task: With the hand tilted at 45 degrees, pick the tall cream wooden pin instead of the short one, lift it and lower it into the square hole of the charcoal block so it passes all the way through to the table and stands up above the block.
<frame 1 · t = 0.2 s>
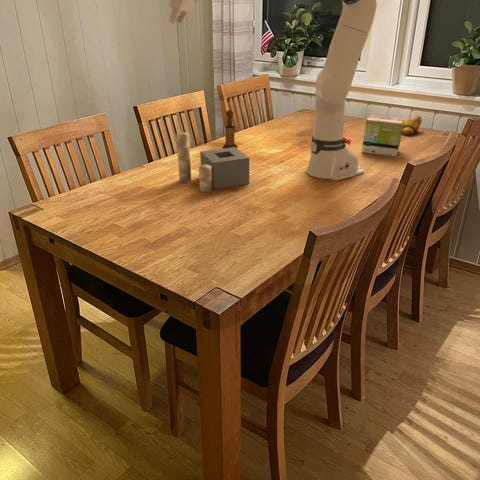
hand: (175, 22, 164), 54 cm above the table, tool tilted 25°, fingers open, 8 cm apart
short pin: (206, 190, 168), on the table
hole block: (224, 180, 177), on the table
tall pin: (185, 180, 177), on the table
brown pedestal statuette: (230, 151, 209), on the table
tea box: (380, 152, 208), on the table
golden brown lumpy piece: (407, 133, 235), on the table
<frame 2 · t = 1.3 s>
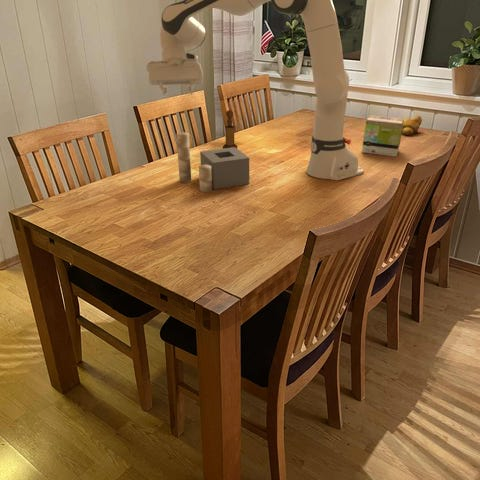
hand: (177, 93, 173), 30 cm above the table, tool tilted 45°, fingers open, 8 cm apart
nothing on the table moved.
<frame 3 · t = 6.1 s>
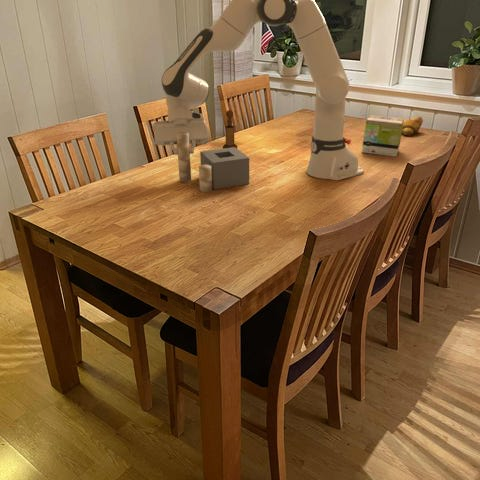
hand: (183, 153, 171), 11 cm above the table, tool tilted 45°, fingers closed on tall pin, 4 cm apart
tall pin: (185, 180, 177), on the table, touching gripper
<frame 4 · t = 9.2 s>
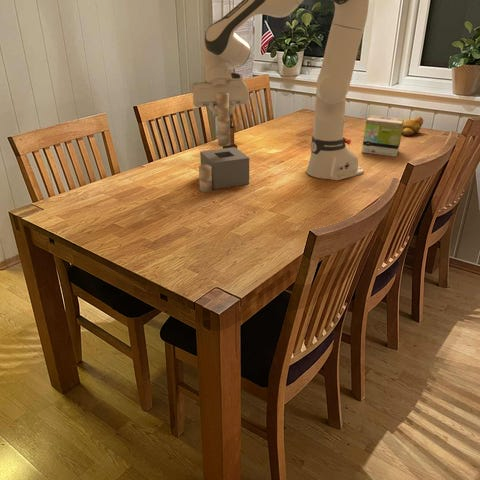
hand: (223, 114, 165), 25 cm above the table, tool tilted 45°, fingers closed on tall pin, 4 cm apart
tall pin: (224, 144, 171), point 14 cm above the table, touching gripper
when the fingers open (13 cm above the table, at t = 12.7 s): tall pin drops 2 cm, resting in hole block.
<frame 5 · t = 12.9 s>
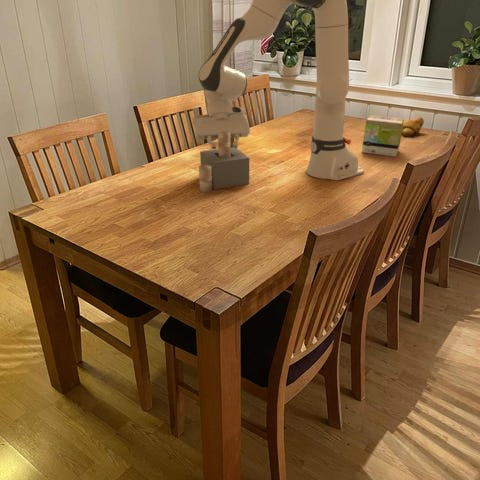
hand: (224, 147, 171), 13 cm above the table, tool tilted 45°, fingers open, 7 cm apart
tall pin: (225, 180, 177), resting in hole block
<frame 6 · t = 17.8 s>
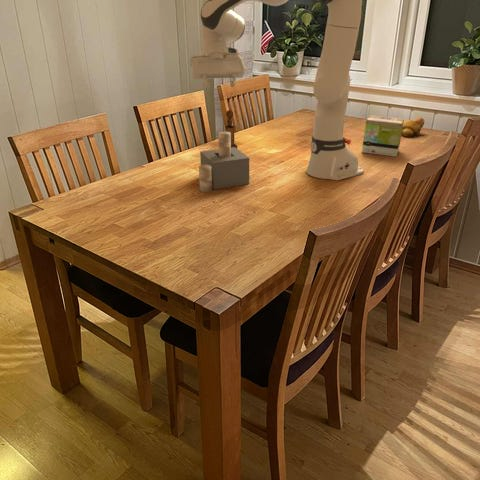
hand: (220, 86, 177), 31 cm above the table, tool tilted 45°, fingers open, 8 cm apart
at the end: tall pin 0.1 cm off-centre on the hole block, point 0.0 cm above the hole block's base; tall pin tilted 0°; short pin moved 0.0 cm from its start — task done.
